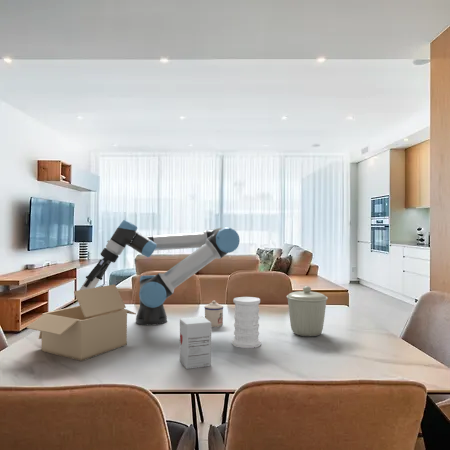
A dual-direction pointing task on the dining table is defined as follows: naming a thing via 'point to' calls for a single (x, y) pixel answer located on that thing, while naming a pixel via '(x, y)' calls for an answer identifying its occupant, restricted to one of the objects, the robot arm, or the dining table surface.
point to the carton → (81, 332)
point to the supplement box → (195, 342)
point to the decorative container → (246, 322)
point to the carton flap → (99, 300)
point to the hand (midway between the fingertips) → (85, 291)
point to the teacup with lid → (214, 314)
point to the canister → (307, 312)
